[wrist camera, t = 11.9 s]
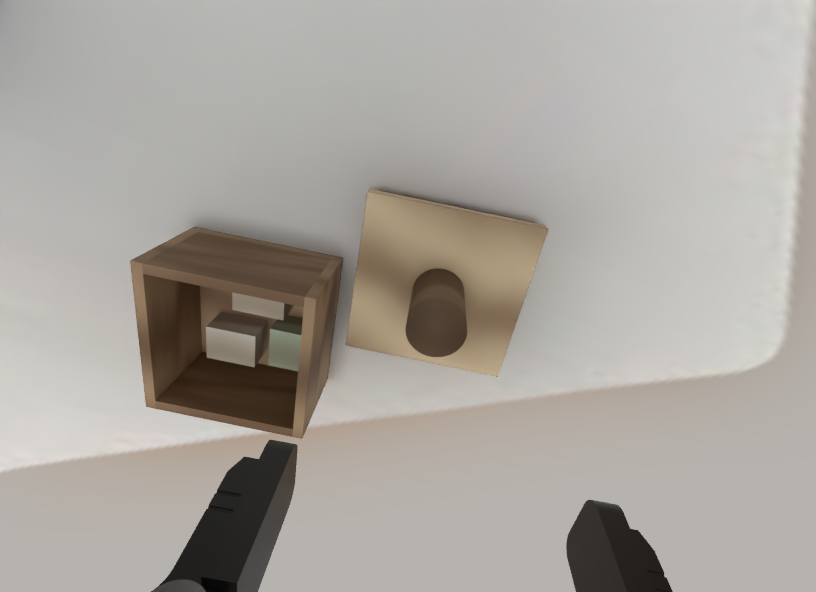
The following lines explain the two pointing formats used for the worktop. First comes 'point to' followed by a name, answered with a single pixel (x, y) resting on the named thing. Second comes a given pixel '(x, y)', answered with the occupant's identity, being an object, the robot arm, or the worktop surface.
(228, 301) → the tea box
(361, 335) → the lid
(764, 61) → the worktop surface
